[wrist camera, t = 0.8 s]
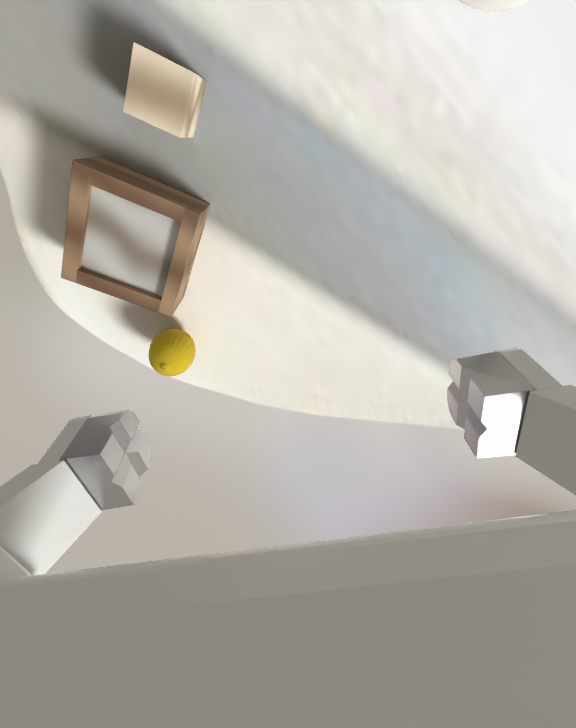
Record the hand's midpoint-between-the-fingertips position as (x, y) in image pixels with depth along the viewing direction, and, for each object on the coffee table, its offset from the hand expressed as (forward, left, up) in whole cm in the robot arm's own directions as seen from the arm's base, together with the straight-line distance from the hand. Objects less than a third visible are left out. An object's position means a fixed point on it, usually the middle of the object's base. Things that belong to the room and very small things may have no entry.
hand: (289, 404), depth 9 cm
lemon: (+22, -6, -38) cm, 44 cm away
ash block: (-4, -13, -37) cm, 40 cm away
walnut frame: (+10, -13, -37) cm, 41 cm away
